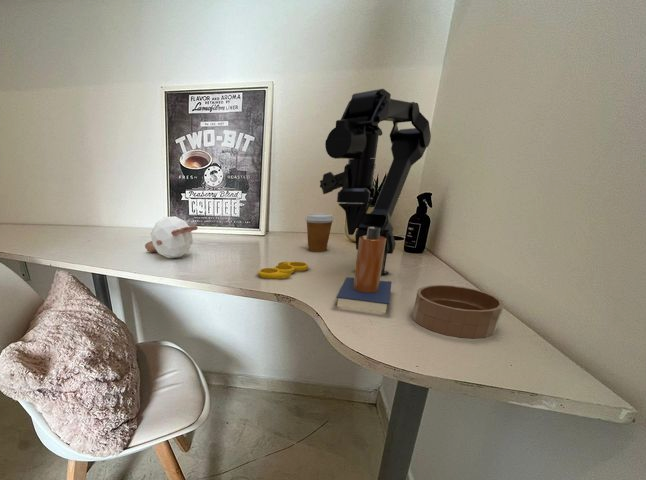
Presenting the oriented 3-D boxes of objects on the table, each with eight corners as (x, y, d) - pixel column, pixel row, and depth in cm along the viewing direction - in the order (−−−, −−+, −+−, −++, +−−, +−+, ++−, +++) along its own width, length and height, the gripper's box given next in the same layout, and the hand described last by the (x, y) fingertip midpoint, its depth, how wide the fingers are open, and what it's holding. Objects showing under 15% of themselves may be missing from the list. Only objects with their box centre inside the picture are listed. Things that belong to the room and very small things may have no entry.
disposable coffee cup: (325, 254, 113) (328, 217, 108) (299, 251, 117) (301, 215, 113) (334, 248, 120) (337, 214, 115) (309, 245, 125) (311, 212, 120)
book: (345, 288, 81) (346, 277, 80) (389, 293, 77) (391, 281, 76) (335, 309, 69) (336, 296, 68) (386, 316, 66) (389, 303, 65)
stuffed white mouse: (173, 258, 126) (158, 222, 122) (215, 244, 108) (199, 202, 104) (142, 271, 117) (125, 232, 113) (182, 258, 99) (164, 212, 95)
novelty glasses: (249, 273, 94) (272, 282, 86) (249, 268, 93) (272, 276, 86) (293, 264, 102) (317, 271, 95) (293, 259, 102) (317, 266, 94)
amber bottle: (374, 284, 74) (383, 225, 69) (381, 292, 70) (391, 229, 64) (350, 284, 75) (357, 225, 70) (356, 292, 70) (364, 230, 65)
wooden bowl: (442, 306, 70) (448, 281, 68) (510, 331, 59) (520, 302, 57) (396, 318, 65) (401, 291, 63) (462, 348, 54) (471, 317, 52)
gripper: (332, 160, 84) (326, 224, 90) (315, 159, 68) (310, 236, 74) (379, 159, 79) (370, 226, 86) (373, 157, 64) (363, 239, 70)
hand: (353, 231), depth 79 cm, fingers open, 9 cm apart
